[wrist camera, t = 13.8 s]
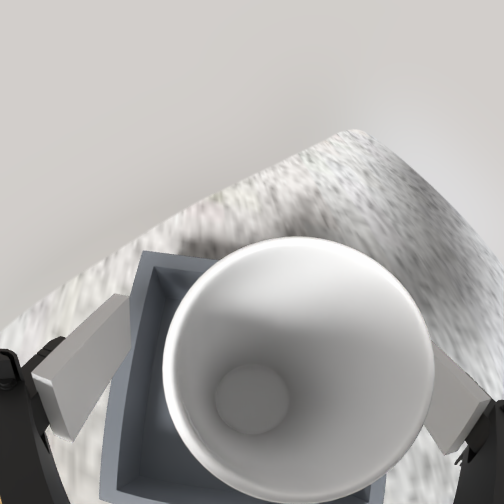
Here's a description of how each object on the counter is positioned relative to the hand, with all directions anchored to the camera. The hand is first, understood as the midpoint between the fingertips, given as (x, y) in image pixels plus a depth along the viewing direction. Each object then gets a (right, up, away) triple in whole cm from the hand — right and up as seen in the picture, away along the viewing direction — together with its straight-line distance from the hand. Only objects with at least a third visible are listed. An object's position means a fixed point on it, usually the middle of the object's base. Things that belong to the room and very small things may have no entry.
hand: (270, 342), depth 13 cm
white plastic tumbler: (-1, -6, +6) cm, 9 cm away
